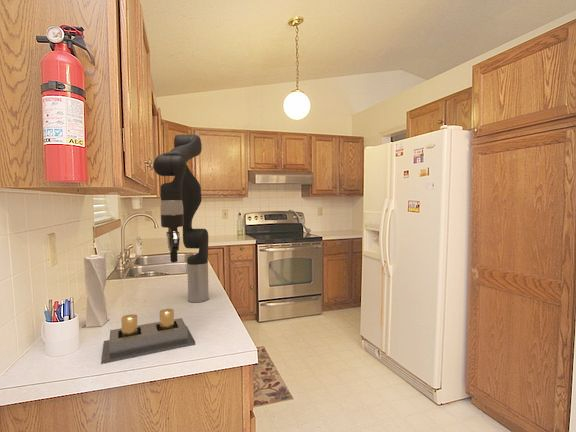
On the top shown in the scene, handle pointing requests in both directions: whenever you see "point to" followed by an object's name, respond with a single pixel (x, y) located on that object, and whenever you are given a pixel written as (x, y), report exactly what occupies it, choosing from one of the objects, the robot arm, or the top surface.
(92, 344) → the top surface
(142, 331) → the jig
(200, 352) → the top surface
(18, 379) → the top surface
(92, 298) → the skyscraper
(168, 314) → the gold and grey cylinder
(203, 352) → the top surface
